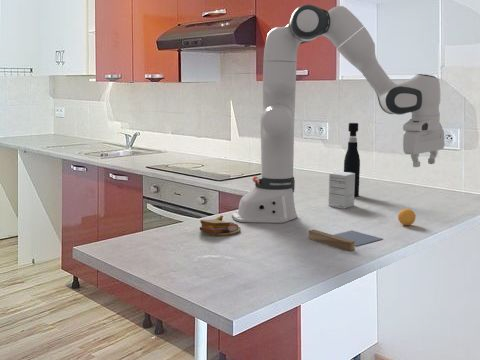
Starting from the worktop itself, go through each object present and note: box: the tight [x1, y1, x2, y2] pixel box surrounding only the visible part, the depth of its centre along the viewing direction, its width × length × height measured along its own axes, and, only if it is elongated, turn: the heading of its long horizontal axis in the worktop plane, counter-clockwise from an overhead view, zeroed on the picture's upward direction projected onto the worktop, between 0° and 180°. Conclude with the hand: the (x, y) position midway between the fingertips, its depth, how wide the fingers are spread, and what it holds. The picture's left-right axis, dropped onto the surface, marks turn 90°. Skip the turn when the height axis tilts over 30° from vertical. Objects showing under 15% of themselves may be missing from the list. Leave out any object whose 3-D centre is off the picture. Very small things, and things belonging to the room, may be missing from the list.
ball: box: [397, 208, 416, 226], centre depth 182 cm, size 6×6×6 cm
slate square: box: [333, 230, 383, 247], centre depth 167 cm, size 12×12×1 cm
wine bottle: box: [343, 122, 361, 198], centre depth 227 cm, size 6×6×30 cm
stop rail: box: [308, 229, 356, 252], centre depth 160 cm, size 2×16×2 cm, turn 38°
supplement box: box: [328, 170, 355, 209], centre depth 210 cm, size 7×7×13 cm
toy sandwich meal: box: [199, 215, 242, 237], centre depth 173 cm, size 12×14×5 cm
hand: (424, 165), depth 186 cm, fingers open, 8 cm apart
